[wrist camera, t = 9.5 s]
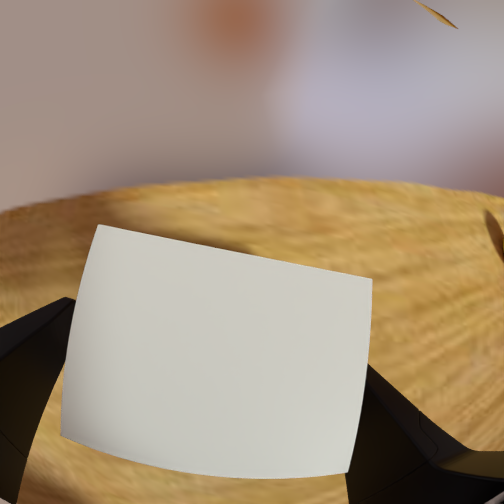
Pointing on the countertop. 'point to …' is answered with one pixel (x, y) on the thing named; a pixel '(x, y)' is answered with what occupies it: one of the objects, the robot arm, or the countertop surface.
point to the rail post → (215, 359)
